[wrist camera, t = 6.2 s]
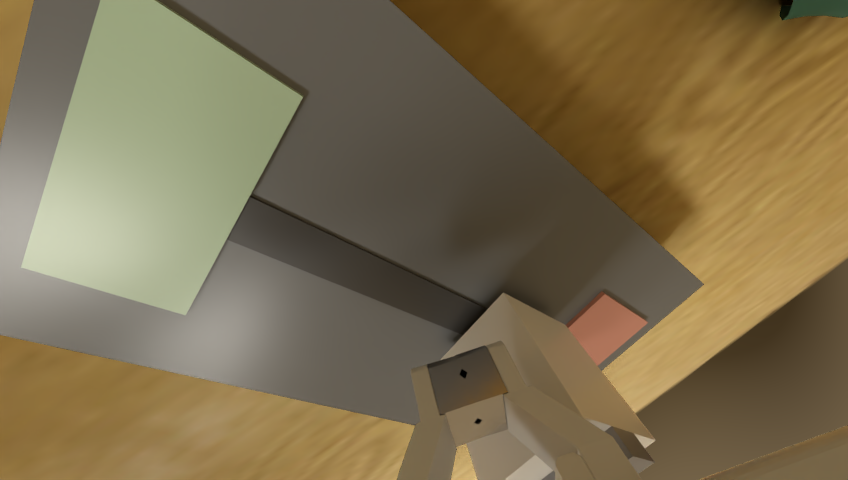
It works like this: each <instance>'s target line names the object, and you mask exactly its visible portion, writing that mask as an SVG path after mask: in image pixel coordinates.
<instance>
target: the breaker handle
mask: <svg viewBox="0 0 848 480" xmlns="http://www.w3.org/2000/svg"><path fill="white" fill-rule="evenodd" d="M497 341H502V342H503V343H504V345H505V346H506V348H507V350H508V352H509V354H510V356H511V358H512V360H513V361H514V363H515V365H516V367H517V369H518V371H519V373H520V374H521V376H522V378H523V380H524V382H525V384H526V386H527V387H528V386H531V385H532V386H534V387H535V388H537V389H538V390H540V391H542V392H543V393H545V394H546V395H548V396H549V397H551V398H553V399H554V400H556V401H557V402H559V403H560V404H562V405H564V406H565V407H567V408H568V409H570V410H571V411H573V412H574V413H576V414H578V415H579V416H581V417H582V418H584V419H585V420H587V421H589V422H590V423H592V424H593V425H595V426H596V427H598V428H600V429H601V430H603V431H604V432H606V433H607V434H609V435H611V436H612V437H613V438H614V439H615V441H616V442H617V444H618V445H619V447H620V448H621V450H622V451H623V453H624V454H625V456H626V457H627V459H628V460H629V462H630V463H631V465H632V466H633V468H634V469H635V470H636V472H637V473H640V472H641V471H643V470H644V469H646V468H647V467H648V466H650V465H651V464H653V463H654V460H653V459H652V458H651V456H650V455H649V454H648V452H647V451H646V450H645V448H646V447H647V446H648V445H650V444H651V443H653V442H654V441H655V439H654V438H653V436H652V435H651V434H650V432H649V431H648V430H647V429H646V427H645V426H644V425H643V423H642V422H641V421H640V420H639V418H638V417H637V416H636V414H635V413H634V412H633V411H632V409H631V408H630V407H629V406H628V404H627V403H626V402H625V400H624V399H623V398H622V397H621V395H620V394H619V393H618V392H617V390H616V389H615V388H614V386H613V385H612V384H611V383H610V381H609V380H608V379H607V377H606V376H605V375H604V374H603V372H602V371H601V370H600V369H599V367H598V366H597V365H596V363H595V362H594V361H593V360H592V358H591V357H590V356H589V355H588V353H587V352H586V351H585V349H584V348H583V347H582V346H581V344H580V343H579V342H578V340H577V339H576V338H575V337H574V335H573V334H572V333H571V332H570V330H569V329H568V328H567V326H566V325H564V324H563V323H561V322H559V321H557V320H555V319H553V318H551V317H549V316H547V315H545V314H543V313H542V312H540V311H538V310H536V309H534V308H532V307H530V306H528V305H526V304H524V303H522V302H521V301H519V300H517V299H515V298H513V297H511V296H509V295H507V294H505V293H502V294H501V295H500V296H499V298H498V299H497V300H496V301H495V302H494V303H493V304H492V305H491V306H490V307H489V308H488V309H487V310H486V311H485V312H484V314H483V315H482V316H481V317H480V318H479V319H478V320H477V321H476V322H475V323H474V324H473V325H472V326H471V327H470V329H469V330H468V331H467V332H466V333H465V334H464V335H463V336H462V337H461V338H460V339H459V340H458V341H457V342H456V343H455V345H454V346H453V347H452V348H451V349H450V350H449V351H448V352H447V353H446V354H445V355H444V356H443V357H442V358H441V359H440V360H443V359H446V358H450V357H453V356H455V355H457V354H460V353H463V352H466V351H469V350H472V349H475V348H478V347H481V346H484V345H485V346H486V345H489V344H492V343H494V342H497ZM466 444H467V447H468V450H469V453H470V456H471V460H472V463H473V466H474V469H475V472H476V476H477V479H478V480H555V472H554V471H553V470H552V469H551V468H550V467H549V466H548V465H547V464H545V463H544V462H543V461H542V460H541V459H540V458H539V457H537V456H536V455H535V454H534V453H533V452H532V451H531V450H529V449H528V448H527V447H526V446H525V445H524V444H523V443H521V442H520V441H519V440H518V439H517V438H516V437H515V436H513V435H512V434H511V433H510V432H509V431H508V430H505V431H501V432H498V433H495V434H492V435H488V436H485V437H482V438H479V439H476V440H474V441H471V442H468V443H466Z"/></svg>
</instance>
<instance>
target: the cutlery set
mask: <svg viewBox="0 0 848 480" xmlns="http://www.w3.org/2000/svg"><path fill="white" fill-rule="evenodd" d="M803 16H832V17H840V18H843V17H848V0H793V3H792V5H781V10H780V17H781V19H782V20H787V19H793V18H798V17H803Z"/></svg>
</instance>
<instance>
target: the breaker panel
mask: <svg viewBox="0 0 848 480" xmlns="http://www.w3.org/2000/svg"><path fill="white" fill-rule="evenodd" d="M703 285H704V284H703V283H702V282H701V281H700V280H699V279H698V278H696V277H695V276H694V275H693V274H692V273H691V272H690V271H689V270H688V269H687V268H685V267H684V266H683V265H682V264H681V263H680V262H679V261H678V260H677V259H675V258H674V257H673V256H672V255H671V254H670V253H669V252H668V251H667V250H665V249H664V248H663V247H662V246H661V245H660V244H659V243H658V242H657V241H656V240H654V239H653V238H652V237H651V236H650V235H649V234H648V233H647V232H646V231H644V230H643V229H642V228H641V227H640V226H639V225H638V224H637V223H636V222H634V221H633V220H632V219H631V218H630V217H629V216H628V215H627V214H626V213H625V212H623V211H622V210H621V209H620V208H619V207H618V206H617V205H616V204H615V203H613V202H612V201H611V200H610V199H609V198H608V197H607V196H606V195H605V194H603V193H602V192H601V191H600V190H599V189H598V188H597V187H596V186H595V185H594V184H592V183H591V182H590V181H589V180H588V179H587V178H586V177H585V176H584V175H582V174H581V173H580V172H579V171H578V170H577V169H576V168H575V167H574V166H572V165H571V164H570V163H569V162H568V161H567V160H566V159H565V158H564V157H563V156H561V155H560V154H559V153H558V152H557V151H556V150H555V149H554V148H553V147H551V146H550V145H549V144H548V143H547V142H546V141H545V140H544V139H543V138H541V137H540V136H539V135H538V134H537V133H536V132H535V131H534V130H533V129H532V128H530V127H529V126H528V125H527V124H526V123H525V122H524V121H523V120H522V119H520V118H519V117H518V116H517V115H516V114H515V113H514V112H513V111H512V110H511V109H509V108H508V107H507V106H506V105H505V104H504V103H503V102H502V101H501V100H499V99H498V98H497V97H496V96H495V95H494V94H493V93H492V92H491V91H489V90H488V89H487V88H486V87H485V86H484V85H483V84H482V83H481V82H480V81H478V80H477V79H476V78H475V77H474V76H473V75H472V74H471V73H470V72H468V71H467V70H466V69H465V68H464V67H463V66H462V65H461V64H460V63H458V62H457V61H456V60H455V59H454V58H453V57H452V56H451V55H450V54H449V53H447V52H446V51H445V50H444V49H443V48H442V47H441V46H440V45H439V44H437V43H436V42H435V41H434V40H433V39H432V38H431V37H430V36H429V35H427V34H426V33H425V32H424V31H423V30H422V29H421V28H420V27H419V26H418V25H416V24H415V23H414V22H413V21H412V20H411V19H410V18H409V17H408V16H406V15H405V14H404V13H403V12H402V11H401V10H400V9H399V8H398V7H396V6H395V5H394V4H393V3H392V2H391V1H390V0H34V3H33V7H32V12H31V16H30V20H29V24H28V29H27V33H26V37H25V41H24V46H23V50H22V54H21V58H20V63H19V67H18V71H17V75H16V80H15V84H14V88H13V92H12V97H11V101H10V105H9V110H8V114H7V118H6V122H5V127H4V131H3V135H2V139H1V144H0V335H3V336H8V337H12V338H17V339H21V340H26V341H31V342H35V343H40V344H44V345H49V346H53V347H58V348H63V349H67V350H72V351H76V352H81V353H86V354H90V355H95V356H99V357H104V358H109V359H113V360H118V361H122V362H127V363H131V364H136V365H141V366H145V367H150V368H154V369H159V370H164V371H168V372H173V373H177V374H182V375H186V376H191V377H196V378H200V379H205V380H209V381H214V382H219V383H223V384H228V385H232V386H237V387H242V388H246V389H251V390H255V391H260V392H264V393H269V394H274V395H278V396H283V397H287V398H292V399H297V400H301V401H306V402H310V403H315V404H319V405H324V406H329V407H333V408H338V409H342V410H347V411H352V412H356V413H361V414H365V415H370V416H375V417H379V418H384V419H388V420H393V421H397V422H402V423H407V424H411V425H416V424H417V423H419V422H421V421H420V416H419V411H418V406H417V401H416V397H415V392H414V387H413V382H412V377H411V369H413V368H416V367H420V366H423V365H426V364H429V363H433V362H436V361H440V359H441V358H442V357H443V356H444V355H445V354H446V353H447V352H448V351H449V350H450V349H451V348H452V347H453V346H454V345H455V343H456V342H457V341H458V340H459V339H460V338H461V337H462V336H463V335H464V334H465V333H466V332H467V331H468V330H469V329H470V327H471V326H472V325H473V324H474V323H475V322H476V321H477V320H478V319H479V318H480V317H481V316H482V315H483V314H484V312H485V311H486V310H487V309H488V308H489V307H490V306H491V305H492V304H493V303H494V302H495V301H496V300H497V299H498V298H499V296H500V295H501V294H502V293H505V294H507V295H509V296H511V297H513V298H515V299H517V300H519V301H521V302H522V303H524V304H526V305H528V306H530V307H532V308H534V309H536V310H538V311H540V312H542V313H543V314H545V315H547V316H549V317H551V318H553V319H555V320H557V321H559V322H561V323H563V324H564V325H566V326H567V328H568V329H569V330H570V332H571V333H572V334H573V335H574V337H575V338H576V339H577V340H578V342H579V343H580V344H581V346H582V347H583V348H584V349H585V351H586V352H587V353H588V355H589V356H590V357H591V358H592V360H593V361H594V362H595V363H596V365H597V366H598V367H599V369H600V370H601V371H602V370H603V369H604V368H605V367H607V366H608V365H609V364H610V363H611V362H612V361H614V360H615V359H616V358H617V357H618V356H620V355H621V354H622V353H623V352H624V351H625V350H627V349H628V348H629V347H630V346H631V345H633V344H634V343H635V342H636V341H637V340H639V339H640V338H641V337H642V336H643V335H644V334H646V333H647V332H648V331H649V330H650V329H652V328H653V327H654V326H655V325H656V324H658V323H659V322H660V321H661V320H662V319H663V318H665V317H666V316H667V315H668V314H669V313H671V312H672V311H673V310H674V309H675V308H676V307H678V306H679V305H680V304H681V303H682V302H684V301H685V300H686V299H687V298H688V297H690V296H691V295H692V294H693V293H694V292H695V291H697V290H698V289H699V288H700V287H701V286H703Z"/></svg>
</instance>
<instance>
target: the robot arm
mask: <svg viewBox="0 0 848 480" xmlns="http://www.w3.org/2000/svg"><path fill="white" fill-rule="evenodd" d="M411 377H412V382H413V387H414V392H415V397H416V401H417V406H418V411H419V416H420V421H421V422H419V423H417V424H416V425H415V428H414V431H413V434H412V437H411V440H410V442H409V445H408V448H407V451H406V454H405V457H404V460H403V463H402V466H401V468H400V471H399V474H398V477H397V480H451V475H452V470H453V465H454V460H455V455H456V450H457V449H456V447H458V446H460V445H463V444H466V443H468V442H471V441H474V440H476V439H479V438H482V437H485V436H488V435H492V434H495V433H498V432H501V431H505V430H508V431H509V432H510V433H511V434H512V435H513V436H515V437H516V438H517V439H518V440H519V441H520V442H521V443H523V444H524V445H525V446H526V447H527V448H528V449H529V450H531V451H532V452H533V453H534V454H535V455H536V456H537V457H539V458H540V459H541V460H542V461H543V462H544V463H545V464H547V465H548V466H549V467H550V468H551V469H552V470H553V471H554V472H555V480H642V479H641V478H640V476H639V475H638V473H637V472H636V470H635V469H634V468H633V466H632V465H631V463H630V462H629V460H628V459H627V457H626V456H625V454H624V453H623V451H622V450H621V448H620V447H619V445H618V444H617V442H616V441H615V439H614V438H613V437H612V436H611V435H609V434H607V433H606V432H604V431H603V430H601V429H600V428H598V427H596V426H595V425H593V424H592V423H590V422H589V421H587V420H585V419H584V418H582V417H581V416H579V415H578V414H576V413H574V412H573V411H571V410H570V409H568V408H567V407H565V406H564V405H562V404H560V403H559V402H557V401H556V400H554V399H553V398H551V397H549V396H548V395H546V394H545V393H543V392H542V391H540V390H538V389H537V388H535V387H534V386H532V385H531V386H528V387H527V386H526V384H525V382H524V380H523V378H522V376H521V374H520V373H519V371H518V369H517V367H516V365H515V363H514V361H513V360H512V358H511V356H510V354H509V352H508V350H507V348H506V346H505V345H504V343H503V342H502V341H497V342H494V343H492V344H489V345H486V346H485V345H484V346H481V347H478V348H475V349H472V350H469V351H466V352H463V353H460V354H457V355H455V356H453V357H450V358H446V359H443V360H440V361H436V362H433V363H429V364H426V365H423V366H420V367H416V368H413V369H411ZM699 480H848V425H847V426H844V427H841V428H839V429H836V430H833V431H830V432H828V433H825V434H822V435H819V436H817V437H814V438H811V439H808V440H806V441H803V442H800V443H797V444H795V445H792V446H789V447H786V448H784V449H781V450H778V451H775V452H773V453H770V454H767V455H765V456H762V457H759V458H756V459H754V460H751V461H748V462H745V463H742V464H740V465H737V466H734V467H732V468H729V469H726V470H724V471H721V472H718V473H715V474H712V475H710V476H707V477H704V478H701V479H699Z"/></svg>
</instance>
